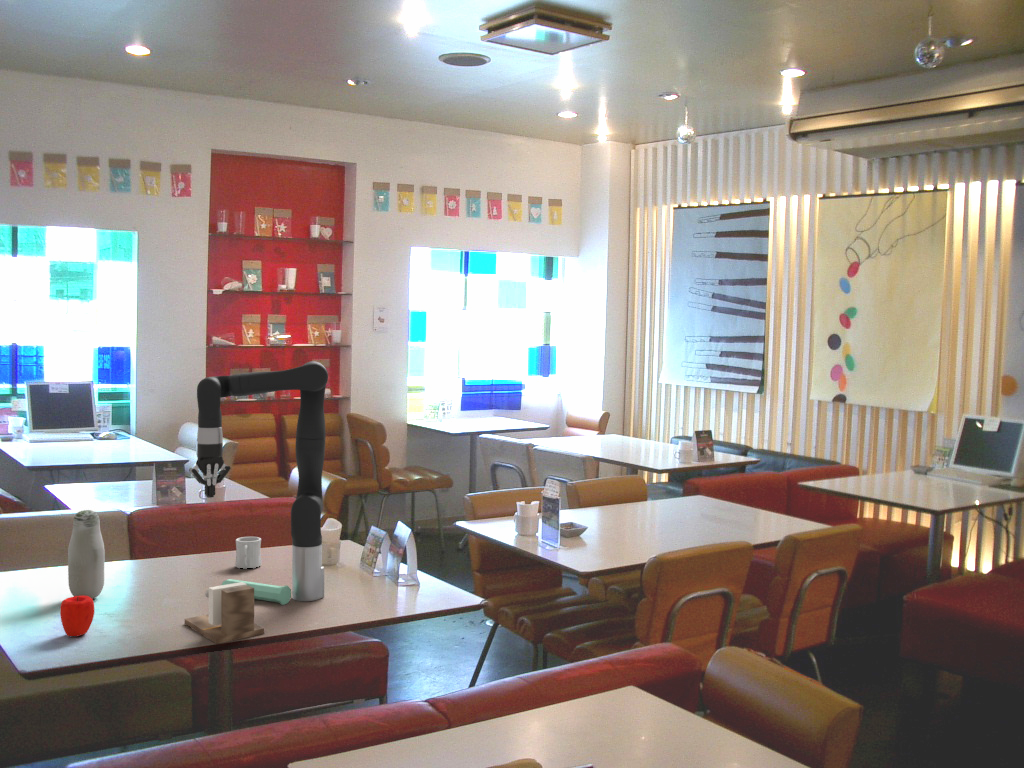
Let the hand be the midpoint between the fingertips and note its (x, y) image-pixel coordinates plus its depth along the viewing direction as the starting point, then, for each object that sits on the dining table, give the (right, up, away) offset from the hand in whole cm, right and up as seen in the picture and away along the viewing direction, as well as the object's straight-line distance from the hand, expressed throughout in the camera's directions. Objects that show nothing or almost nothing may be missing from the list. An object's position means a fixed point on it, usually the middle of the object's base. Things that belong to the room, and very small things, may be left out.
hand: (210, 497), depth 299 cm
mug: (-1, -31, +45) cm, 55 cm away
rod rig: (+12, -35, -25) cm, 44 cm away
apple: (-27, -35, -32) cm, 54 cm away
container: (+13, -30, +9) cm, 34 cm away
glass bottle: (-39, -32, +3) cm, 51 cm away
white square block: (+13, -32, -27) cm, 44 cm away
